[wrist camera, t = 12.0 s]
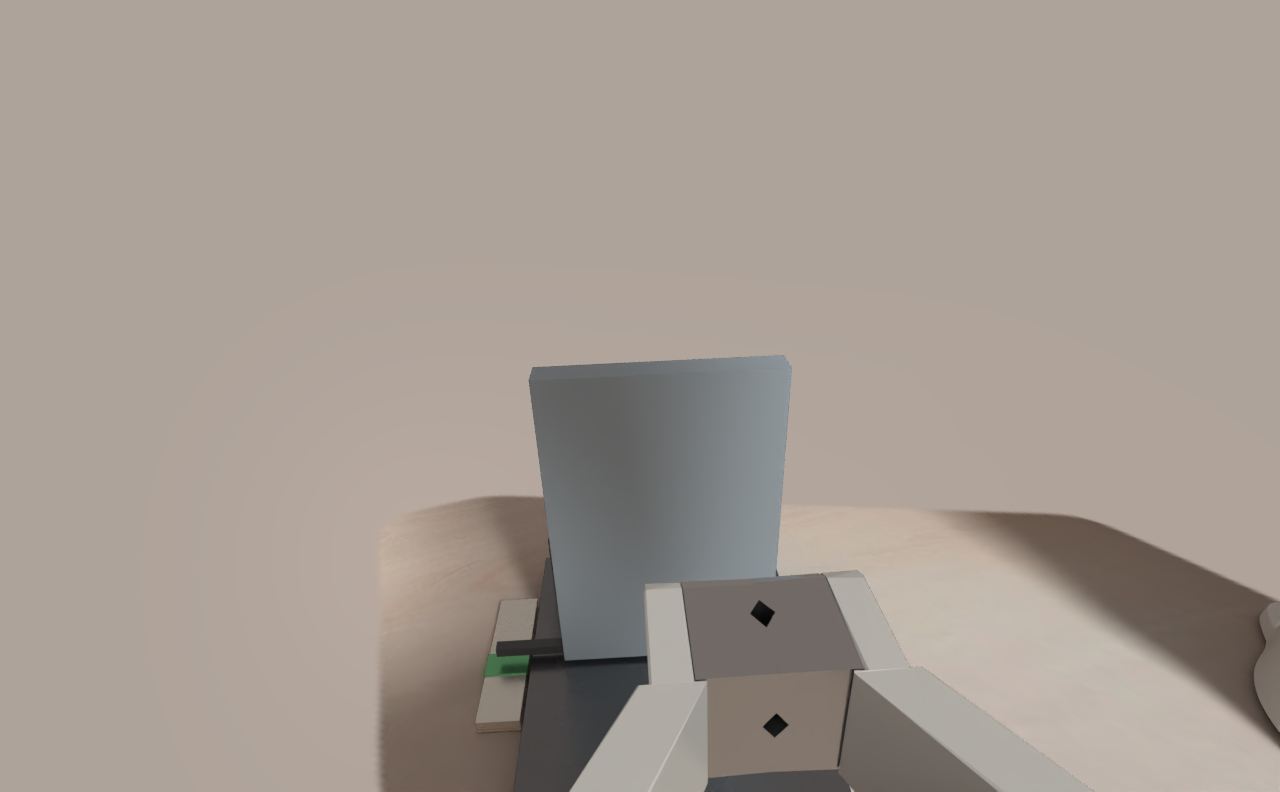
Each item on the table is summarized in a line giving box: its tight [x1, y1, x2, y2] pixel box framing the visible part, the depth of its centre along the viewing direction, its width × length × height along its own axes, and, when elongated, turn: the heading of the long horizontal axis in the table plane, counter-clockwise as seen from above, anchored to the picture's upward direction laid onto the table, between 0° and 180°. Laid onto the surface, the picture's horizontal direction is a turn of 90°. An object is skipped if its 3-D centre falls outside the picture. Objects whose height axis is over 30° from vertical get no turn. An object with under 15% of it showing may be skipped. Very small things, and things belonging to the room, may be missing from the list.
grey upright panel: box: [496, 355, 792, 661], centre depth 33 cm, size 16×2×18 cm, turn 92°
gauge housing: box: [475, 539, 851, 792], centre depth 36 cm, size 19×18×6 cm
